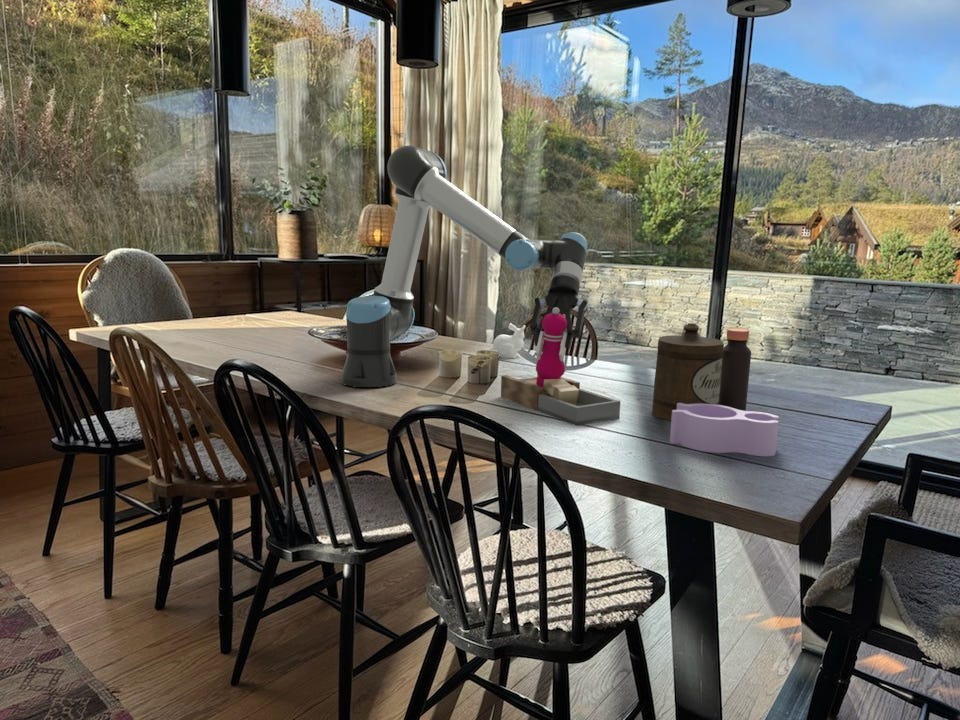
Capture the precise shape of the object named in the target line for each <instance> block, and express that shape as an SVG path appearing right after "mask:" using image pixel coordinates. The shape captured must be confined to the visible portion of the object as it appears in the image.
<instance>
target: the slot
mask: <svg viewBox="0 0 960 720" xmlns="http://www.w3.org/2000/svg"><path fill="white" fill-rule="evenodd" d="M536 373H537V372H536ZM538 376H539V375H538V373H537V374H536V377H535V376H534V377H526V378H520V379H518V378H516V377H513V376H510V375H507V374H506V375H500V377H501V378H500V384H501V386H500V397H501V396H502V397H501V398H503V397H504V399H506V398H507V399H506V400H508V399H509V401H511V400H512V401H511V402H513V403H516V402H517V403H516V404H520V405H521V404H522V406H525V407H526V408H530V409H532V410H535V411H538V398H539V394H544V395H547V396H550V397H552V396H551V395H550V394H548V393H547V392H546V391H545V390H543V387H540V386H537V384H536V382H537V377H538ZM560 378H561V379H563V380H565V381H566V382H568V383H569V384H570V385H574V386H575V387H576V388H578V389H581V387H580V385H581V383H580V381H576V380H572V379H569V378H567V377H566V378H565V377H563V376H561V377H560Z"/></svg>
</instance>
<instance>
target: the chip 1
mask: <svg viewBox="0 0 960 720" xmlns="http://www.w3.org/2000/svg"><path fill="white" fill-rule="evenodd" d="M569 385H570V384H569V383H568V382H566V381H565V380H563V379H544V385H543V390H545V391H546V392H547V393H548V394H550V395H551V396H552V397H554V393H555V388H556V387H558V386H569Z"/></svg>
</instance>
